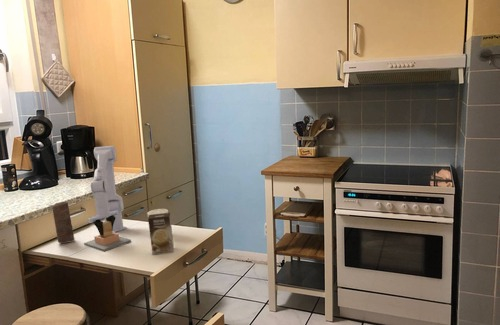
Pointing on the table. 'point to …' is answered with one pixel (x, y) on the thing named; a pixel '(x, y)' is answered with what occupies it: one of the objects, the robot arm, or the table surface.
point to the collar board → (107, 242)
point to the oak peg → (107, 229)
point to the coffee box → (161, 233)
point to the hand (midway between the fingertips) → (106, 233)
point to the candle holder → (157, 211)
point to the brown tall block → (63, 222)
